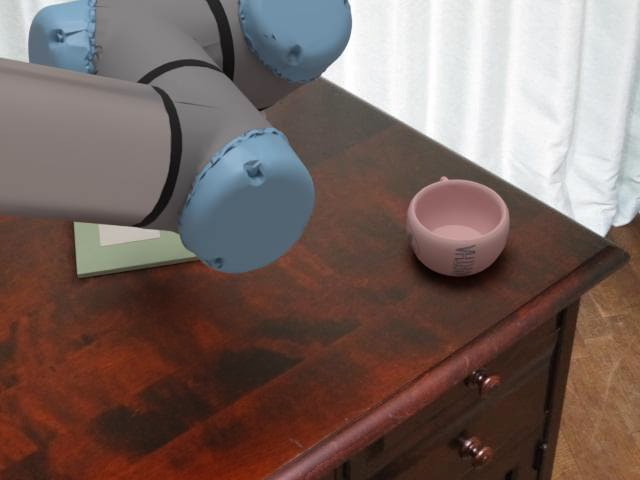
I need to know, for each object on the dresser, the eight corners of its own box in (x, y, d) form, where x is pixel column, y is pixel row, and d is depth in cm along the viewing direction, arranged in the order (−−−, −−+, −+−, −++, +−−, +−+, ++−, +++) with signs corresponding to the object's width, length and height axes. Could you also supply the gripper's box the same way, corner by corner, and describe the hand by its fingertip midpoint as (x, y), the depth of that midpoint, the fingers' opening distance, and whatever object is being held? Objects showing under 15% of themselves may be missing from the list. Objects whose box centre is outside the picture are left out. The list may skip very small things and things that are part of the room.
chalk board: (199, 260, 114) (198, 255, 114) (78, 278, 113) (76, 273, 112) (175, 130, 130) (175, 125, 130) (69, 145, 129) (68, 140, 128)
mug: (517, 283, 111) (523, 237, 107) (416, 295, 110) (418, 249, 106) (486, 203, 120) (490, 158, 116) (392, 214, 119) (394, 169, 115)
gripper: (149, 172, 81) (68, 230, 101) (329, 82, 88) (220, 153, 109) (97, 77, 80) (27, 154, 101) (283, -6, 88) (182, 82, 109)
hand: (127, 153), depth 105 cm, fingers closed on eraser, 3 cm apart
